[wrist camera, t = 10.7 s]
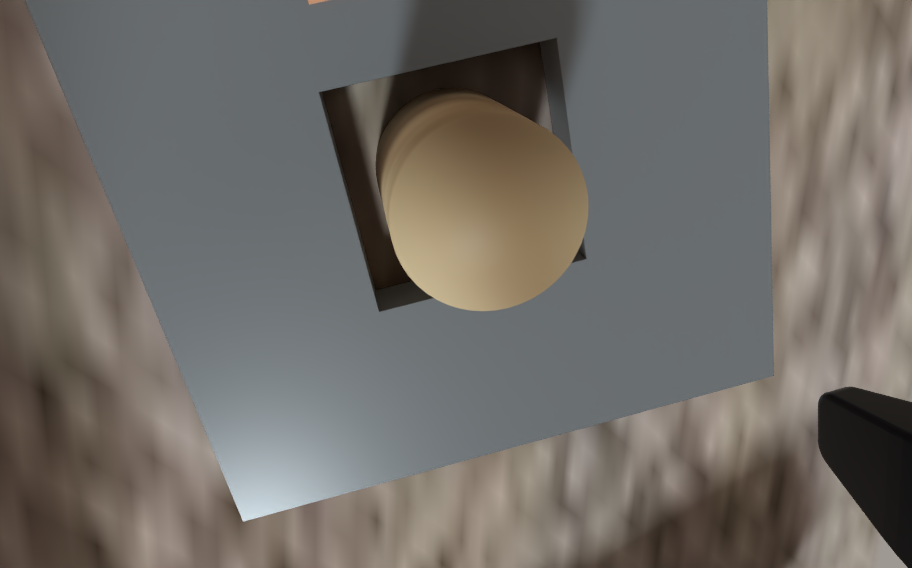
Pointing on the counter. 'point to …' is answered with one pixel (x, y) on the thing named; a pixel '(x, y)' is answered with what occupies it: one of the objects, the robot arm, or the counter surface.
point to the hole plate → (406, 305)
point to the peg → (479, 200)
